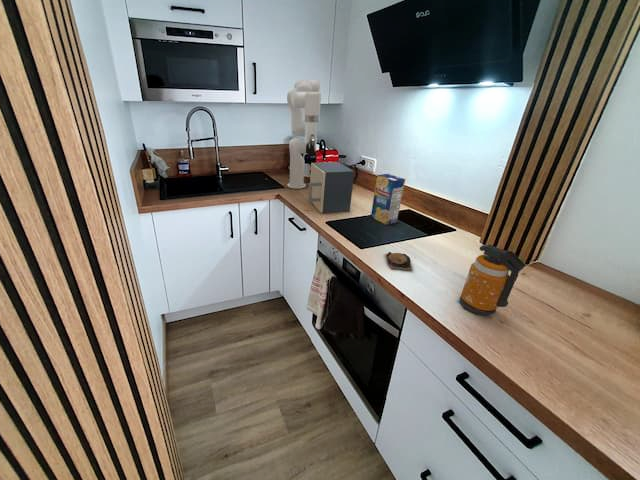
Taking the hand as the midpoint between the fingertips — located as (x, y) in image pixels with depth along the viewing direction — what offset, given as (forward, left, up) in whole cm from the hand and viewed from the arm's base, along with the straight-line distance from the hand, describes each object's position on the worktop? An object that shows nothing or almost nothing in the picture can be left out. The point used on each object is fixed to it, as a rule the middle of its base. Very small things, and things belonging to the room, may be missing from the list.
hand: (310, 154), depth 146 cm
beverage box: (+23, +33, -29) cm, 50 cm away
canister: (+88, +28, -29) cm, 97 cm away
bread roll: (+61, +18, -29) cm, 70 cm away
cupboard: (-1, +13, -29) cm, 32 cm away
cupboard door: (-1, +2, -29) cm, 29 cm away
